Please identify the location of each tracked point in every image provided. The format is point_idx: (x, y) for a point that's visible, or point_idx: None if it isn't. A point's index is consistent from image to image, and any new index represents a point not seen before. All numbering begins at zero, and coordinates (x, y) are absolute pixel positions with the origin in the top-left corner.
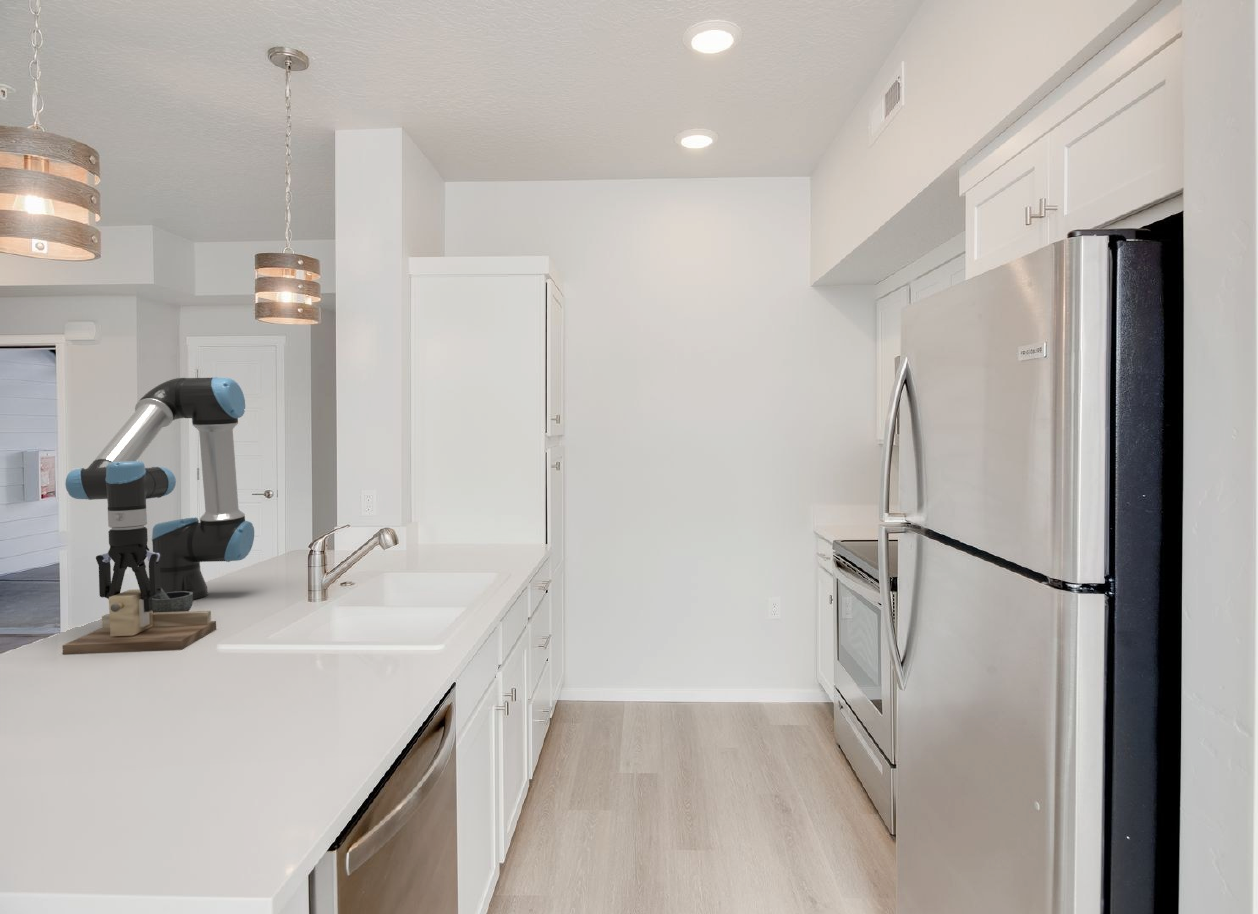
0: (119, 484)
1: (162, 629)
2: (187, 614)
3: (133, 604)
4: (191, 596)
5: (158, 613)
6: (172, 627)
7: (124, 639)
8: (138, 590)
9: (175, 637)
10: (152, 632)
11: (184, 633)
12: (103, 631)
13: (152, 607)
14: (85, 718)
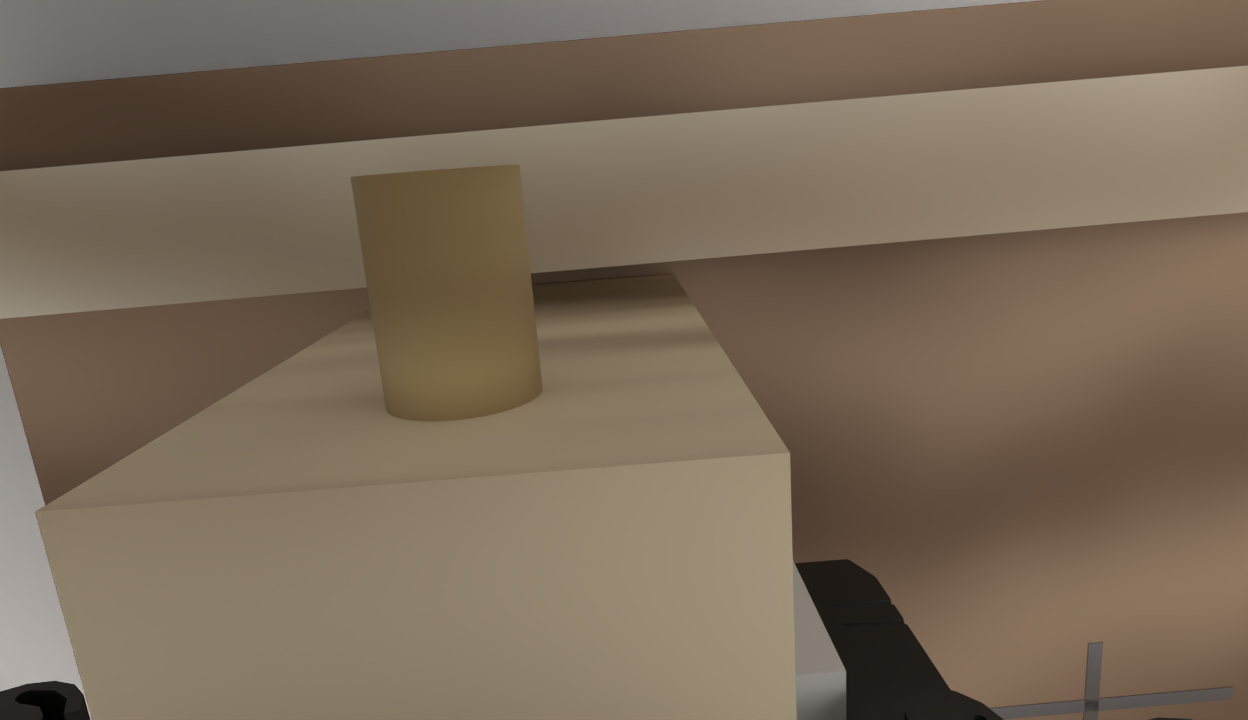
0: None
1: (858, 377)
2: (1210, 209)
3: None
4: None
5: (732, 195)
6: (937, 288)
7: None
8: (469, 639)
9: (1179, 704)
10: (812, 506)
11: (1212, 562)
12: (150, 429)
13: (880, 588)
14: None
